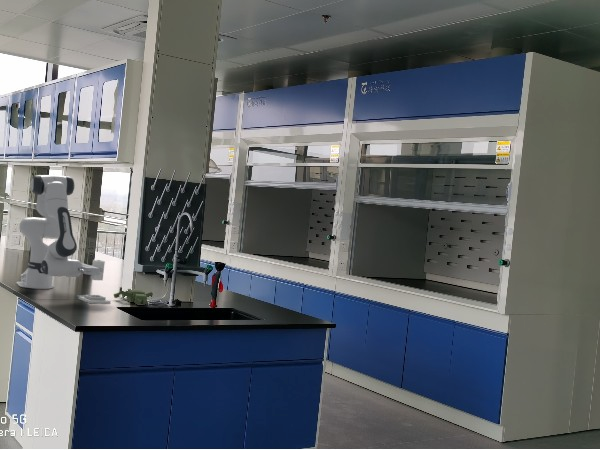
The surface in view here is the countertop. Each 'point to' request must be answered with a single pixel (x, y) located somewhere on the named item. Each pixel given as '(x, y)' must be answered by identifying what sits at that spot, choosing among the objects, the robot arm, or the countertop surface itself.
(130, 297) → the toy
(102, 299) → the outlet plate
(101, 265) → the charger
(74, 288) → the countertop surface
